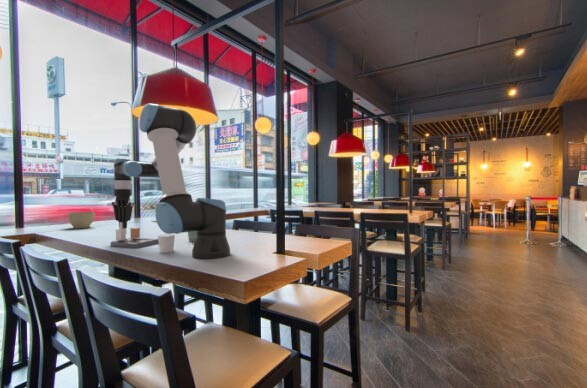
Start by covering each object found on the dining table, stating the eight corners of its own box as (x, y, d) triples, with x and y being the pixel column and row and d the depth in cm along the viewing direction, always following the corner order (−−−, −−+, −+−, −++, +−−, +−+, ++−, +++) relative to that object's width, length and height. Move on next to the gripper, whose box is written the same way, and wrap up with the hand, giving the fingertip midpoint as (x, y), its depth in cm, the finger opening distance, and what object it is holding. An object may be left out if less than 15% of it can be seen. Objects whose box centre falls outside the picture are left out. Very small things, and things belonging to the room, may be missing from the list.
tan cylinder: (140, 237, 153) (140, 227, 153) (135, 238, 150) (135, 228, 150) (134, 237, 154) (134, 227, 154) (130, 238, 151) (130, 228, 151)
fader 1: (126, 239, 147) (125, 229, 147) (121, 240, 144) (120, 230, 144) (120, 239, 148) (120, 229, 148) (115, 240, 145) (115, 229, 145)
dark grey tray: (159, 243, 151) (159, 238, 151) (136, 248, 138) (136, 243, 138) (134, 241, 157) (134, 237, 157) (110, 246, 143) (110, 241, 143)
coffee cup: (198, 242, 153) (198, 219, 152) (182, 242, 154) (182, 218, 154) (206, 240, 161) (206, 217, 161) (191, 239, 163) (191, 217, 162)
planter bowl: (77, 226, 221) (76, 211, 221) (99, 226, 222) (99, 211, 222) (61, 229, 205) (61, 213, 205) (86, 229, 206) (85, 213, 206)
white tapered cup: (164, 253, 127) (164, 237, 127) (154, 251, 130) (154, 235, 130) (178, 250, 133) (178, 234, 132) (168, 249, 136) (168, 233, 136)
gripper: (138, 188, 156) (138, 234, 156) (119, 188, 160) (119, 232, 160) (126, 188, 149) (126, 236, 149) (106, 188, 153) (107, 234, 153)
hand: (123, 234), depth 155 cm, fingers closed
